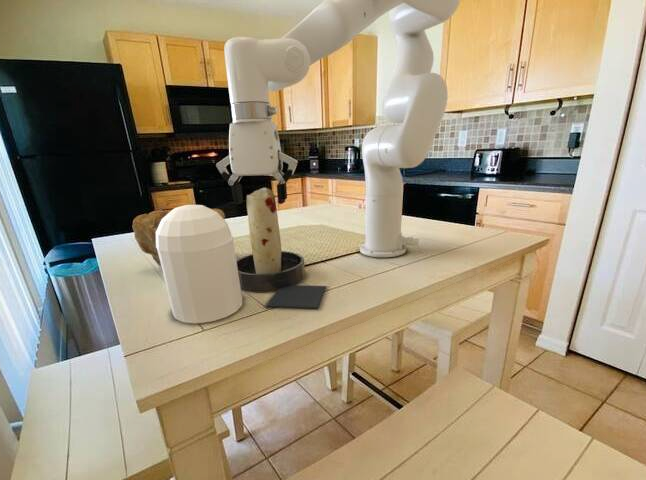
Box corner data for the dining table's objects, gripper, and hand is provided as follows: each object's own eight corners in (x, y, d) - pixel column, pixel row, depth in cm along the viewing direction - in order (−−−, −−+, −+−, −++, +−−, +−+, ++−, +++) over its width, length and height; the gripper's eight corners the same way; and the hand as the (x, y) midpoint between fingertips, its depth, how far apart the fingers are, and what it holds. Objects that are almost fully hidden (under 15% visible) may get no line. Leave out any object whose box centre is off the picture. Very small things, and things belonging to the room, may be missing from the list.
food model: (287, 281, 75) (279, 190, 67) (257, 286, 74) (245, 193, 66) (280, 267, 84) (272, 185, 76) (254, 271, 82) (243, 187, 75)
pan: (310, 266, 85) (309, 251, 83) (295, 293, 70) (294, 275, 68) (249, 265, 88) (247, 250, 86) (222, 291, 73) (219, 274, 72)
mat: (325, 287, 72) (325, 285, 72) (317, 309, 63) (317, 307, 63) (280, 286, 74) (280, 285, 73) (266, 307, 65) (266, 305, 64)
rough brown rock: (139, 291, 78) (123, 228, 71) (143, 264, 92) (130, 210, 85) (239, 275, 86) (233, 218, 79) (229, 253, 99) (223, 202, 93)
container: (173, 330, 58) (144, 215, 51) (171, 300, 70) (148, 203, 62) (249, 312, 63) (233, 205, 55) (236, 287, 74) (221, 196, 67)
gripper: (298, 113, 68) (303, 199, 74) (218, 118, 71) (229, 201, 77) (289, 110, 61) (295, 205, 67) (201, 116, 64) (215, 206, 70)
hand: (260, 203), depth 72 cm, fingers open, 9 cm apart
